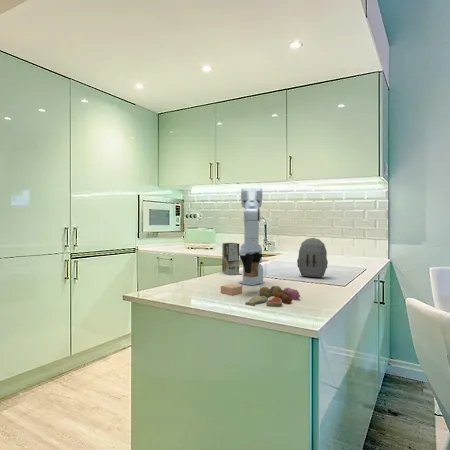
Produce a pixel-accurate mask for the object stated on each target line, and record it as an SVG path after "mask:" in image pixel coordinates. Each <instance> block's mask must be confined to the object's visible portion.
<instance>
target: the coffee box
mask: <svg viewBox="0 0 450 450" xmlns="http://www.w3.org/2000/svg"><path fill="white" fill-rule="evenodd" d="M221 250H222V252H221V253H222V254H221V255H222V258H221V259H222V263H221V265H222V266H221V267H222V271H221V272H222V274H226V275H228V276H230V275H231V276H234V275H239V274H240V243H237V242H222V249H221Z"/></svg>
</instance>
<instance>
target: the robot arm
mask: <svg viewBox="0 0 450 450" xmlns="http://www.w3.org/2000/svg"><path fill="white" fill-rule="evenodd" d="M240 197H241V199H240V200H241V202H240V203H241V207H242V208H243V209H244V210H243V224H244V235H243V236H244V237H243V238H244V241H243V243H242V244H241V245H240V249H239V263H241V264H242V280H241V281H238V284H243V285H248V286H254V285H259V284H264V283H265V282H266V281H264V266H263V265H262V261H263V248H262V246H261V244H260V242H259V241H260V238H259V237H260V235H259V234H260V231H259V230H260V222H261V209H260V208H261V207H262V204H263V188H262V187H241V188H240ZM252 262H257V263H258V276H257V277H246V276H244V270H245V273H250V272H251V266H252Z"/></svg>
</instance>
